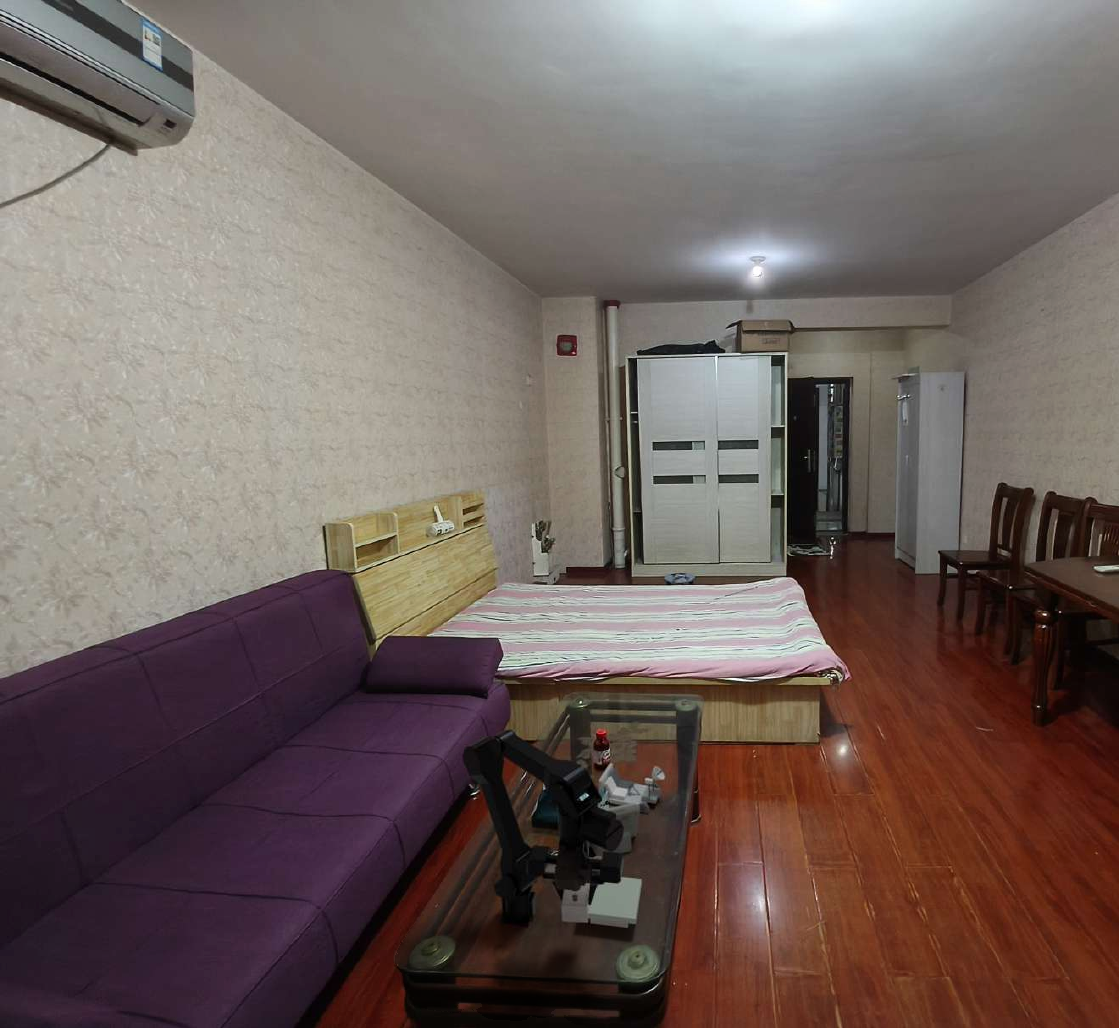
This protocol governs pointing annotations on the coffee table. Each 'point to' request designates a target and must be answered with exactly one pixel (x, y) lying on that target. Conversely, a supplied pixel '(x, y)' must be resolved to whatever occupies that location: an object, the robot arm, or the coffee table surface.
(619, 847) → the digital clock
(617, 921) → the stand
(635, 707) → the coffee table surface
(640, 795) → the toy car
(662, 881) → the coffee table surface
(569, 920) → the block
